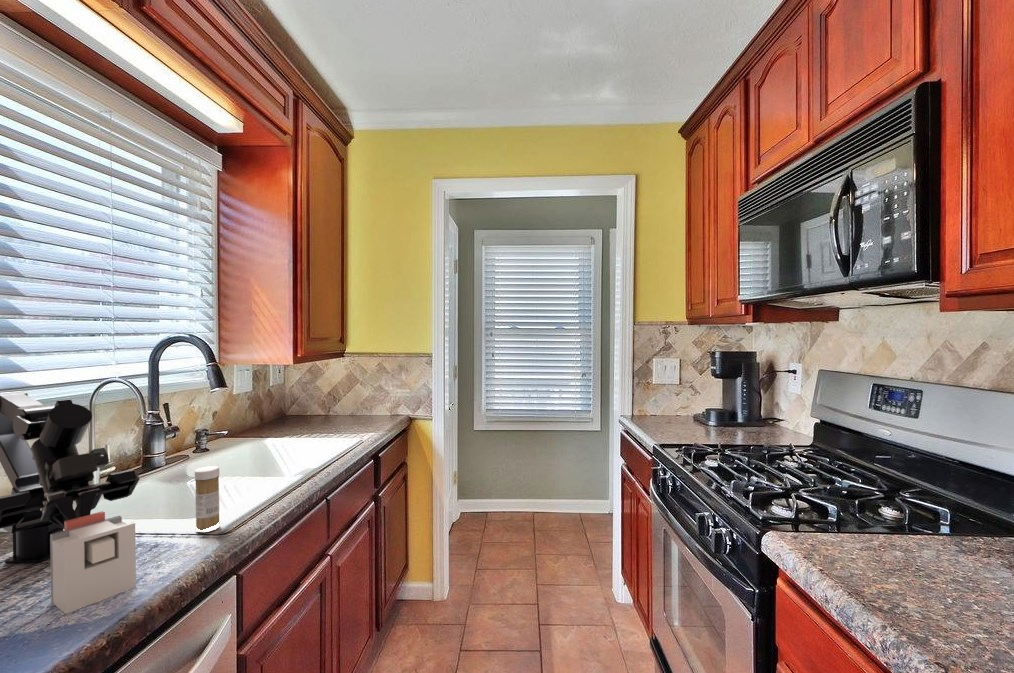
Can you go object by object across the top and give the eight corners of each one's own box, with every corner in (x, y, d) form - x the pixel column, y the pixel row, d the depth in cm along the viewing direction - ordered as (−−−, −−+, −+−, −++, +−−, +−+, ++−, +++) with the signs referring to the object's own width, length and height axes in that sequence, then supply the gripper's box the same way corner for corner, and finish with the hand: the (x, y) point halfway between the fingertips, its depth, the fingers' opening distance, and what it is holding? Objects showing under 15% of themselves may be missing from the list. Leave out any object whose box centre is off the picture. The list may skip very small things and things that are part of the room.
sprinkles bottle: (218, 523, 106) (217, 463, 106) (221, 530, 102) (221, 468, 102) (193, 529, 103) (193, 467, 103) (196, 536, 99) (195, 472, 99)
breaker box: (51, 601, 75) (50, 534, 75) (119, 576, 83) (119, 515, 83) (65, 614, 72) (64, 543, 72) (135, 586, 80) (135, 523, 80)
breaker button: (64, 560, 78) (64, 521, 78) (102, 548, 82) (102, 511, 82) (83, 573, 73) (83, 532, 73) (122, 560, 78) (122, 520, 78)
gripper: (-8, 447, 74) (16, 533, 69) (134, 426, 90) (162, 494, 85) (-21, 488, 79) (0, 572, 73) (117, 461, 95) (143, 528, 89)
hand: (83, 538), depth 80 cm, fingers closed, pressing on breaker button
